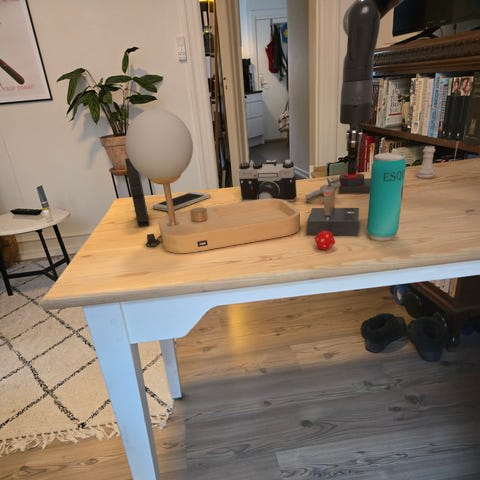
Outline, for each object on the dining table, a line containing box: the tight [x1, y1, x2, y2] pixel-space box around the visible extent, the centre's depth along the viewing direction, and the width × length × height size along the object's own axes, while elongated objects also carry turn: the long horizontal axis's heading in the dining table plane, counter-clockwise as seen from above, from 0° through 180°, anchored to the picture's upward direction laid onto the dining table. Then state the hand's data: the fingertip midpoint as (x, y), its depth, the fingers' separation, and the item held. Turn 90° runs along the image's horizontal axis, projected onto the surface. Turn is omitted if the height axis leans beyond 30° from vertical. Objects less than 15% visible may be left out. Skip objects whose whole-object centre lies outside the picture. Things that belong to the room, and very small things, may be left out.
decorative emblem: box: [124, 157, 150, 228], centre depth 98 cm, size 12×2×15 cm, turn 13°
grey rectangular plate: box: [323, 187, 336, 217], centre depth 85 cm, size 6×1×5 cm, turn 162°
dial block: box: [304, 207, 360, 237], centre depth 86 cm, size 11×11×3 cm
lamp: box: [124, 108, 301, 254], centre depth 83 cm, size 33×17×25 cm, turn 105°
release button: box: [344, 172, 359, 178], centre depth 110 cm, size 4×4×2 cm
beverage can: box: [366, 152, 407, 242], centre depth 76 cm, size 6×6×15 cm
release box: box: [338, 172, 371, 194], centre depth 110 cm, size 10×9×4 cm
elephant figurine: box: [304, 176, 341, 204], centre depth 102 cm, size 10×6×9 cm
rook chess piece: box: [416, 145, 436, 179], centre depth 114 cm, size 4×4×8 cm
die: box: [313, 230, 336, 252], centre depth 76 cm, size 4×3×4 cm
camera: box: [237, 159, 297, 202], centre depth 104 cm, size 15×11×10 cm
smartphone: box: [152, 191, 211, 212], centre depth 113 cm, size 7×15×1 cm, turn 139°
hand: (351, 174), depth 110 cm, fingers closed
